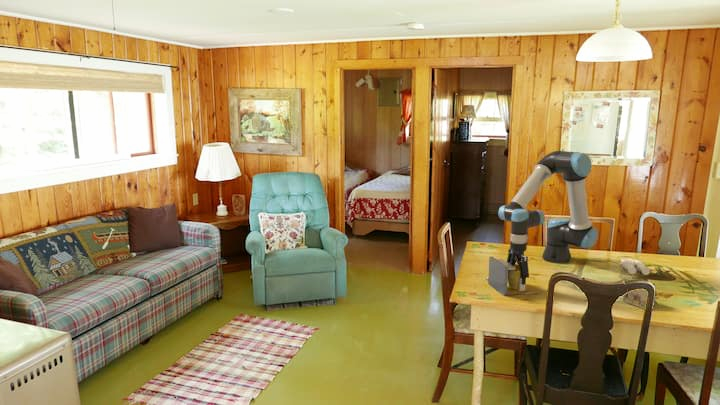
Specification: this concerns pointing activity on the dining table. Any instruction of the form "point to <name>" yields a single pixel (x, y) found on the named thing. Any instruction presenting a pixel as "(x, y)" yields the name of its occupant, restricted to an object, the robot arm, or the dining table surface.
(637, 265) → the binoculars
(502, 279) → the bracket
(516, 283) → the plant pot
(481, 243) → the dining table surface
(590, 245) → the robot arm
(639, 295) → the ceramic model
